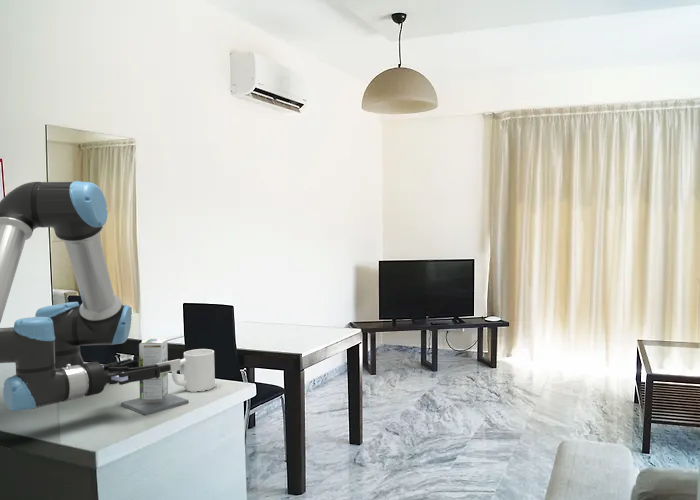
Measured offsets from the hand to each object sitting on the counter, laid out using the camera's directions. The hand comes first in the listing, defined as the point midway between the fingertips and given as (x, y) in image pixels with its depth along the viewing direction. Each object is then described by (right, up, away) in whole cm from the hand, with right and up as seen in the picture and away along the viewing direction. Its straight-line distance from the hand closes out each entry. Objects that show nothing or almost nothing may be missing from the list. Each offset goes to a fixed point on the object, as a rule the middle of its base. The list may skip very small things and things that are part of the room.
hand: (170, 362), depth 146 cm
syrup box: (-3, -8, -3) cm, 10 cm away
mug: (+3, -10, +10) cm, 14 cm away
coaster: (-3, -10, -3) cm, 11 cm away
